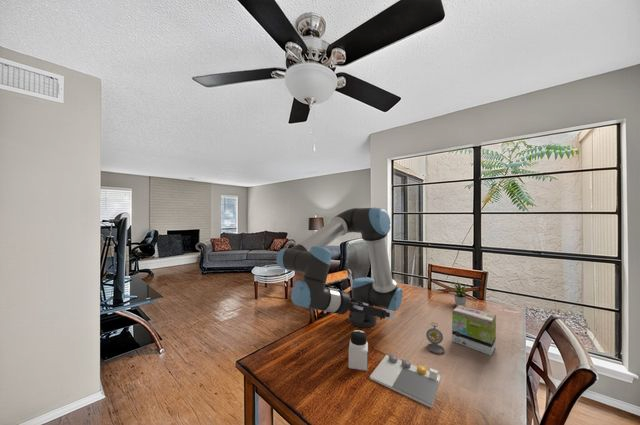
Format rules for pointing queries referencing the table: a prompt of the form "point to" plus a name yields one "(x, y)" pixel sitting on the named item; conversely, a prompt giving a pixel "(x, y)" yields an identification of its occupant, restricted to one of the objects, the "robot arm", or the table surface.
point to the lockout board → (407, 379)
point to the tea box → (474, 329)
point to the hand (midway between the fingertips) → (379, 311)
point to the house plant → (459, 294)
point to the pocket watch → (435, 340)
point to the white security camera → (358, 351)
